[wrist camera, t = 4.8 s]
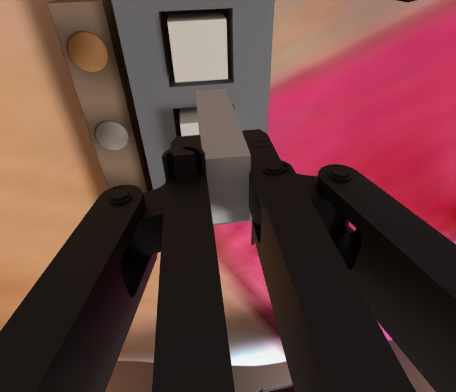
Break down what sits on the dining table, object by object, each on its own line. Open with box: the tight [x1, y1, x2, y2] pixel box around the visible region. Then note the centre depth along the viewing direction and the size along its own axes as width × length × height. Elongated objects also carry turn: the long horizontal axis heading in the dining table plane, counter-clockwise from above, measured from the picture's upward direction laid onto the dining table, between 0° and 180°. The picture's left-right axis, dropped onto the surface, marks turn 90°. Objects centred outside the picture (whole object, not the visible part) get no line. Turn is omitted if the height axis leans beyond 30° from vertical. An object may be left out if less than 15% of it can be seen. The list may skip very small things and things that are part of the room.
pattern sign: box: [47, 0, 151, 193], centre depth 31 cm, size 22×4×3 cm, turn 2°
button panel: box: [112, 0, 274, 225], centre depth 31 cm, size 24×12×4 cm, turn 2°
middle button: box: [180, 107, 199, 136], centre depth 29 cm, size 4×4×4 cm
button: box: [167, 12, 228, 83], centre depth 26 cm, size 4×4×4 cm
